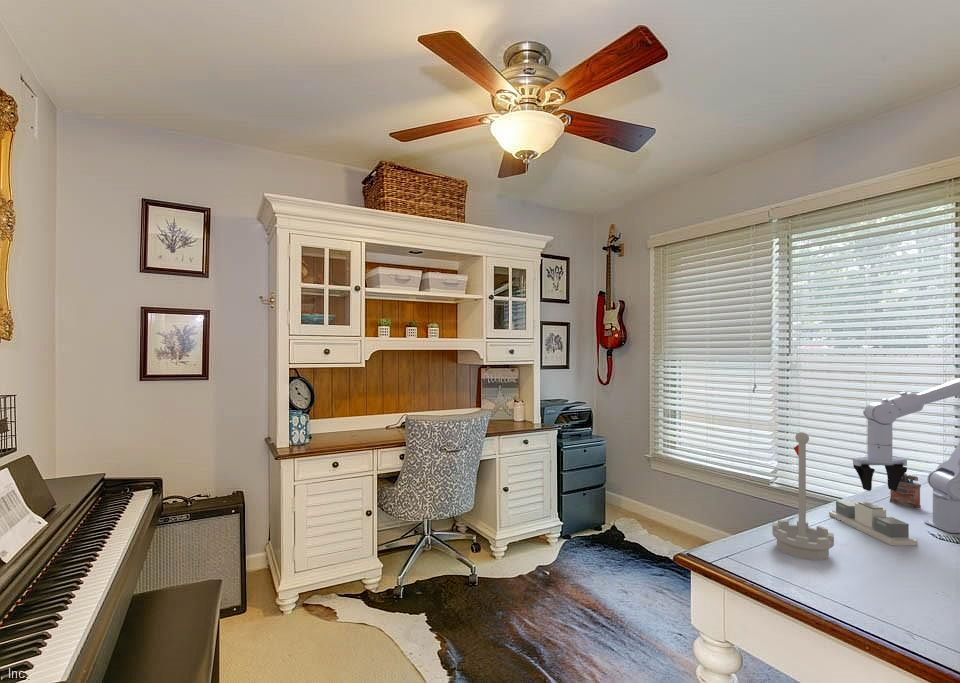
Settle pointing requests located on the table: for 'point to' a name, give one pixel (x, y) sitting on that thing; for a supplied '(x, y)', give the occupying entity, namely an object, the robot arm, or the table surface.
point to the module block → (868, 513)
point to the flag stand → (802, 521)
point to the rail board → (875, 525)
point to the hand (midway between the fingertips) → (879, 489)
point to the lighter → (907, 492)
